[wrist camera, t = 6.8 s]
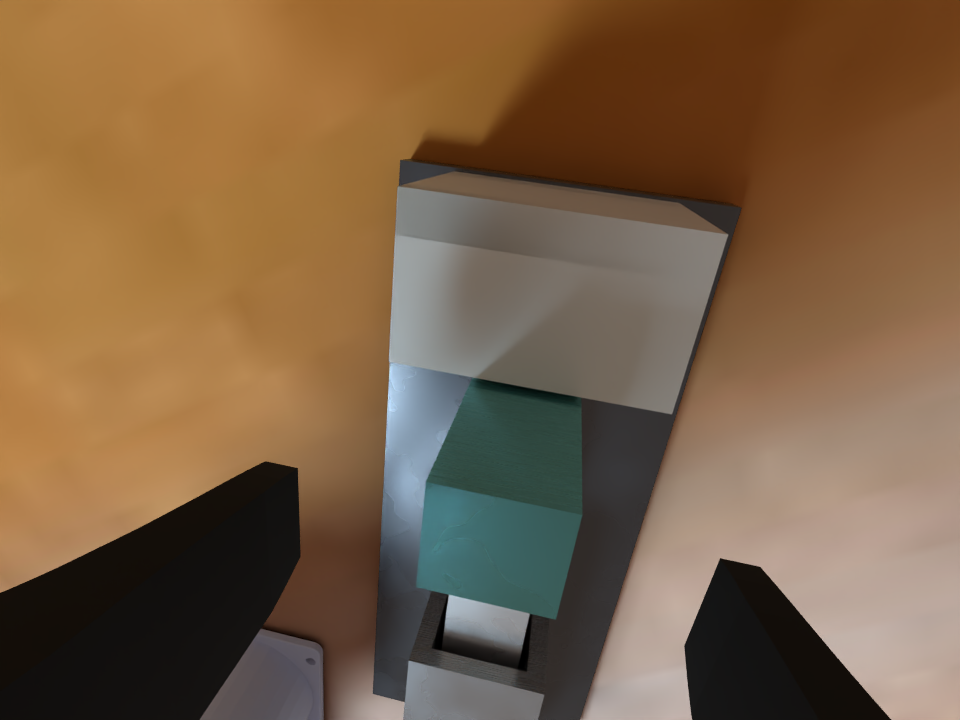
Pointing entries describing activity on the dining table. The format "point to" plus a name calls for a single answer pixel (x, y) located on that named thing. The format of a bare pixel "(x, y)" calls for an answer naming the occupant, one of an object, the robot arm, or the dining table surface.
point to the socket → (550, 287)
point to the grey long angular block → (596, 556)
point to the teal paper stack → (502, 516)
